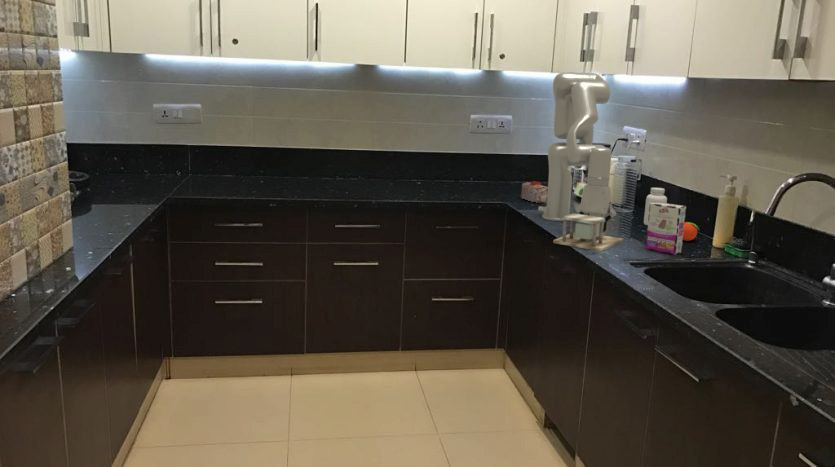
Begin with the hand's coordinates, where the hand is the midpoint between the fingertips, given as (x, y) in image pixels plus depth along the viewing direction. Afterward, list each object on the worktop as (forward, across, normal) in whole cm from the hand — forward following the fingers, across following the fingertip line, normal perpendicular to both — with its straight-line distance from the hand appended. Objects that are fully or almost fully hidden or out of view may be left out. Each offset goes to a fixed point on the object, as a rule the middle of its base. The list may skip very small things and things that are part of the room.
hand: (594, 230), depth 254 cm
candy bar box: (+4, +25, +1) cm, 25 cm away
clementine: (+4, +27, +23) cm, 36 cm away
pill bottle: (+4, +8, +43) cm, 44 cm away
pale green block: (+1, 0, -4) cm, 4 cm away
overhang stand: (+4, 0, -4) cm, 5 cm away
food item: (+4, -53, +57) cm, 78 cm away
